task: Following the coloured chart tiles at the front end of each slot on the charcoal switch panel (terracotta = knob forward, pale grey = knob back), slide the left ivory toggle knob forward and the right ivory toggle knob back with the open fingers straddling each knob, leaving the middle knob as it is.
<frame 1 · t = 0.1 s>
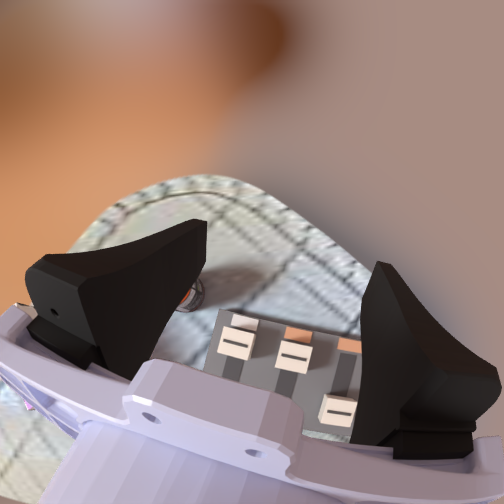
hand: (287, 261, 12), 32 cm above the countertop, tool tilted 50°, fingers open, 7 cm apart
supplement bottle: (187, 294, 45), on the countertop
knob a: (337, 410, 34), point 4 cm above the countertop, slide at 0.0 cm
knob b: (293, 356, 37), point 4 cm above the countertop, slide at 6.0 cm
panel: (287, 375, 40), on the countertop
knob c: (237, 343, 38), point 4 cm above the countertop, slide at 6.0 cm
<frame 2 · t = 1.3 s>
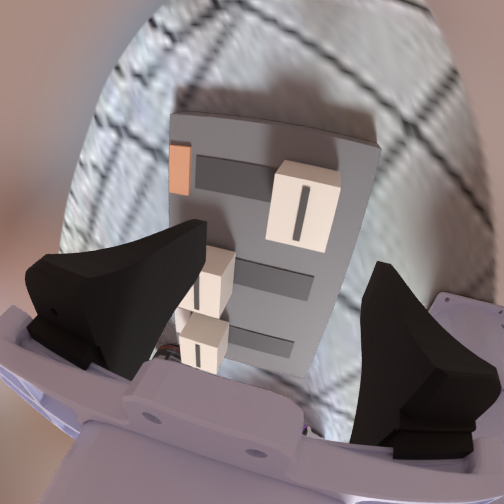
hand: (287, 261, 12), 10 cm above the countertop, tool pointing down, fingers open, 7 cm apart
supplement bottle: (180, 357, 36), on the countertop
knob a: (304, 204, 18), point 4 cm above the countertop, slide at 0.0 cm
knob b: (204, 280, 23), point 4 cm above the countertop, slide at 6.0 cm
panel: (256, 261, 25), on the countertop
knob c: (204, 343, 27), point 4 cm above the countertop, slide at 6.0 cm
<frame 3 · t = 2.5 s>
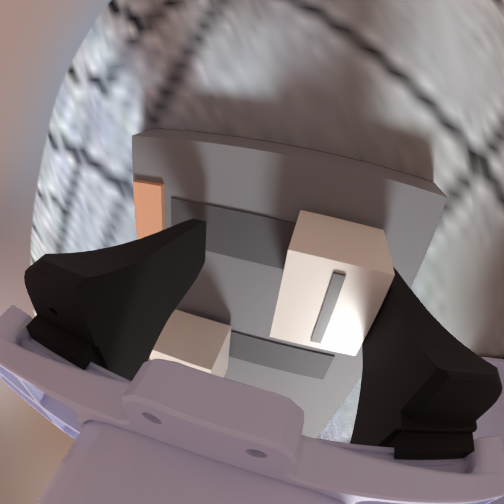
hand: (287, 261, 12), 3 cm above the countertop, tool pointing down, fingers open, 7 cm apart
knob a: (329, 283, 11), point 4 cm above the countertop, slide at 0.2 cm, touching gripper
knob b: (191, 359, 16), point 4 cm above the countertop, slide at 6.0 cm
panel: (259, 326, 19), on the countertop
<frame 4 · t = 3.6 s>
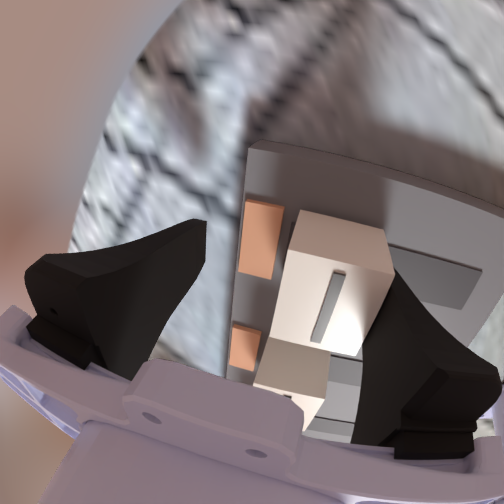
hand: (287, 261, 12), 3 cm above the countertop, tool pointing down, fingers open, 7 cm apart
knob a: (329, 283, 11), point 4 cm above the countertop, slide at 5.8 cm, touching gripper
knob b: (287, 387, 15), point 4 cm above the countertop, slide at 6.0 cm
panel: (342, 346, 18), on the countertop
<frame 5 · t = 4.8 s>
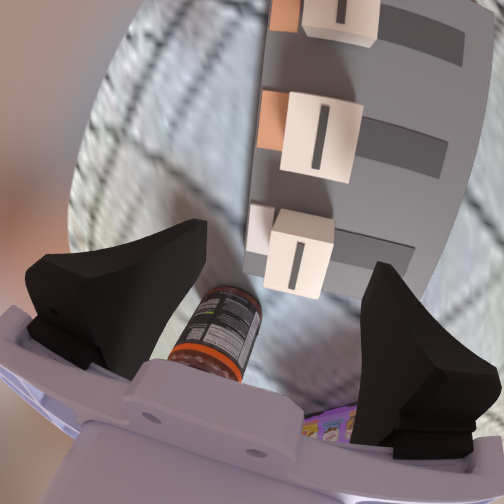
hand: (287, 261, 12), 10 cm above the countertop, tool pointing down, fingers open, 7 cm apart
supplement bottle: (233, 307, 28), on the countertop
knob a: (342, 4, 11), point 4 cm above the countertop, slide at 5.8 cm
knob b: (322, 133, 15), point 4 cm above the countertop, slide at 6.0 cm
candy box: (346, 414, 34), on the countertop
panel: (368, 135, 18), on the countertop
knob c: (299, 253, 19), point 4 cm above the countertop, slide at 6.0 cm
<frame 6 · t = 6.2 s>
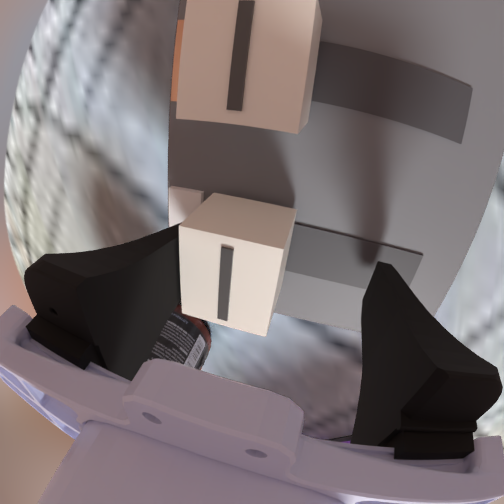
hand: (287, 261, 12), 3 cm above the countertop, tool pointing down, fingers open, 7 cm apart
supplement bottle: (178, 325, 22), on the countertop
knob b: (255, 58, 8), point 4 cm above the countertop, slide at 6.0 cm
panel: (347, 79, 11), on the countertop
knob c: (238, 262, 12), point 4 cm above the countertop, slide at 5.8 cm, touching gripper
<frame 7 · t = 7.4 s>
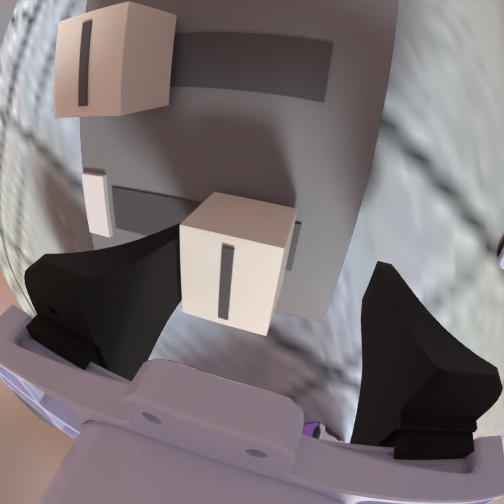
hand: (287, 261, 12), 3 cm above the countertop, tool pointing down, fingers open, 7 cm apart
knob b: (112, 61, 9), point 4 cm above the countertop, slide at 6.0 cm
candy box: (278, 439, 28), on the countertop
panel: (222, 62, 12), on the countertop
knob c: (238, 262, 12), point 4 cm above the countertop, slide at 0.2 cm, touching gripper
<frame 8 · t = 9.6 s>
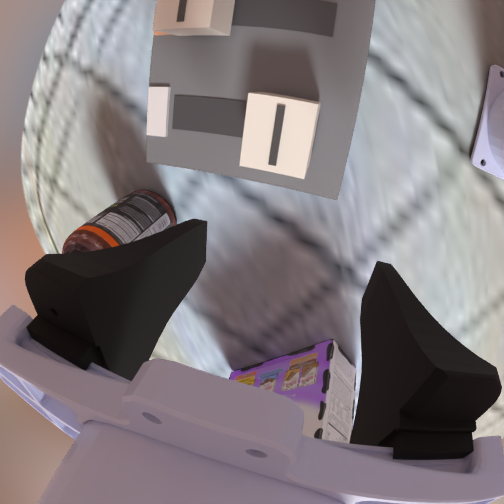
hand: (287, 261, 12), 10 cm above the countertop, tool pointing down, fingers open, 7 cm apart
supplement bottle: (151, 217, 26), on the countertop
knob b: (196, 2, 13), point 4 cm above the countertop, slide at 6.0 cm
candy box: (291, 369, 32), on the countertop
panel: (262, 16, 15), on the countertop
knob c: (282, 131, 16), point 4 cm above the countertop, slide at 0.0 cm
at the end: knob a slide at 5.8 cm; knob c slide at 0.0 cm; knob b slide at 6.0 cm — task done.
